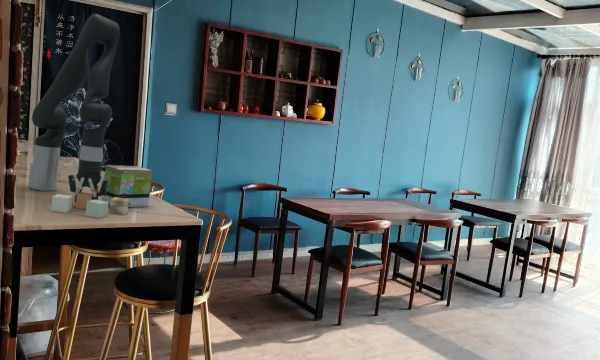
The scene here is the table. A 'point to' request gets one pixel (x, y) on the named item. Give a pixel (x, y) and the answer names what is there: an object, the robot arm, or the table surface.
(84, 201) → the terracotta cube
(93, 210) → the sage cube
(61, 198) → the cream cube
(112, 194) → the tea box
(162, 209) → the table surface
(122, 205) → the maple cube
